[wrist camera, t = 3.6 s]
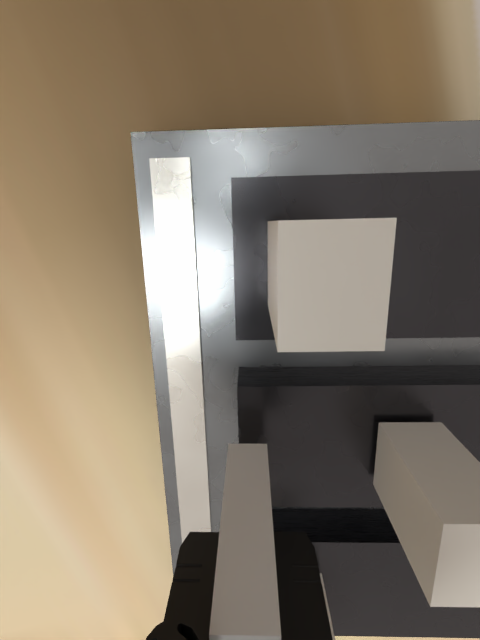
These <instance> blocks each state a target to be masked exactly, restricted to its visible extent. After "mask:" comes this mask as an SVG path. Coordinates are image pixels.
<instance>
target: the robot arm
mask: <svg viewBox="0 0 480 640" xmlns="http://www.w3.org/2000/svg"><path fill="white" fill-rule="evenodd" d="M146 640H333V639H332V633H331V628H330V623H329V618H328V613H327V608H326V603H325V598H324V593H323V588H322V584H321V578H320V572H319V568H318V562H317V557H316V552H315V547H314V545H313V544H312V542H311V541H310V539H309V538H308V536H307V535H306V533H305V532H274V531H273V518H272V504H271V491H270V477H269V464H268V450H267V444H228V452H227V462H226V472H225V482H224V492H223V502H222V512H221V521H220V531H219V532H189V534H188V535H187V537H186V538H185V540H184V541H183V543H182V544H181V546H180V549H179V554H178V558H177V563H176V568H175V572H174V576H173V583H172V586H171V590H170V595H169V599H168V604H167V608H166V613H165V618H164V622H162V623H160V624H159V625H157V626H156V627H155V628H154V629H153V630H152V632H151V633H150V634H149V635H148V636H147V638H146Z"/></svg>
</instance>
